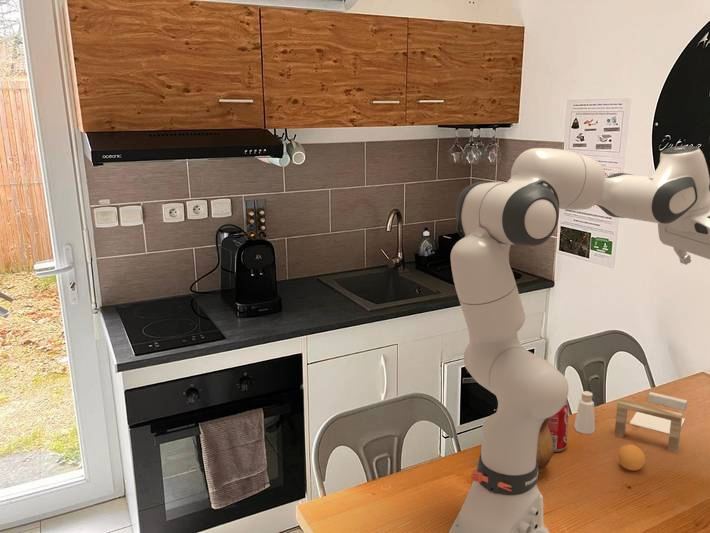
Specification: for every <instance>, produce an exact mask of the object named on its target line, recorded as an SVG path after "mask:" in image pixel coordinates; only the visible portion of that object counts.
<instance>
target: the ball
mask: <svg viewBox="0 0 710 533" xmlns="http://www.w3.org/2000/svg"><path fill="white" fill-rule="evenodd" d="M617 460H618V461H619V463H620V465H621V466H622V467H623V468H624V469H626V470H629V471H638V470H640V469H642V468H643V467H644V465H645V462H646V456H645V453H644V451H643V449H641V448H640V447H638V446H636V445H634V444H626V445H623V446H621V448H620V449H619V451H618V453H617Z"/></svg>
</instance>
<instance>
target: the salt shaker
mask: <svg viewBox="0 0 710 533" xmlns="http://www.w3.org/2000/svg"><path fill="white" fill-rule="evenodd" d="M593 396H594V395H593V393H592V392H591V391H587V390H585V391H582V392H581V399H580V400H579V401H578V406H577V410H576V415H575V420H574V421H575V422H574V426H573V428H574V429H575V431H576V432H577V433H581V434H583V435H592V434H593V433H594V432H596V428H595V427H596V425H595V424H596V423H595V421H596V420H595V402H594V401H593Z"/></svg>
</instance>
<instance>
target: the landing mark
mask: <svg viewBox="0 0 710 533" xmlns="http://www.w3.org/2000/svg"><path fill="white" fill-rule="evenodd" d="M685 421H686V418H684V417H682V423H681V428H682V426H683V425H684V422H685ZM629 425H633V426H637V427H641V428H645V429H648V430H652V431H657V432H659V433H662V434H666V435H669V434H670V425H671V420H668V419H664V418H660V417H656V416H652V415H648V414H644V413H640V412H636V411H635V414H634V415H633V417H632V418H631V420H630V421H629Z"/></svg>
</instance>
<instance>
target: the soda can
mask: <svg viewBox="0 0 710 533" xmlns="http://www.w3.org/2000/svg"><path fill="white" fill-rule="evenodd" d="M569 410H570V408H569V404H568V399H567V400H566V402H565V404H564V406H563V407H562V409H561V410H560V411H559V412H558V413H556V414H555V415H553V416H552V417H549V420H548V428H549V431H550V433H551V437H552V440H553V453H554V452H555V453H557V452H562V451H563V450H565V449H566V447H567V446H568V430H569V429H568V428H569V412H570V411H569Z"/></svg>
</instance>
